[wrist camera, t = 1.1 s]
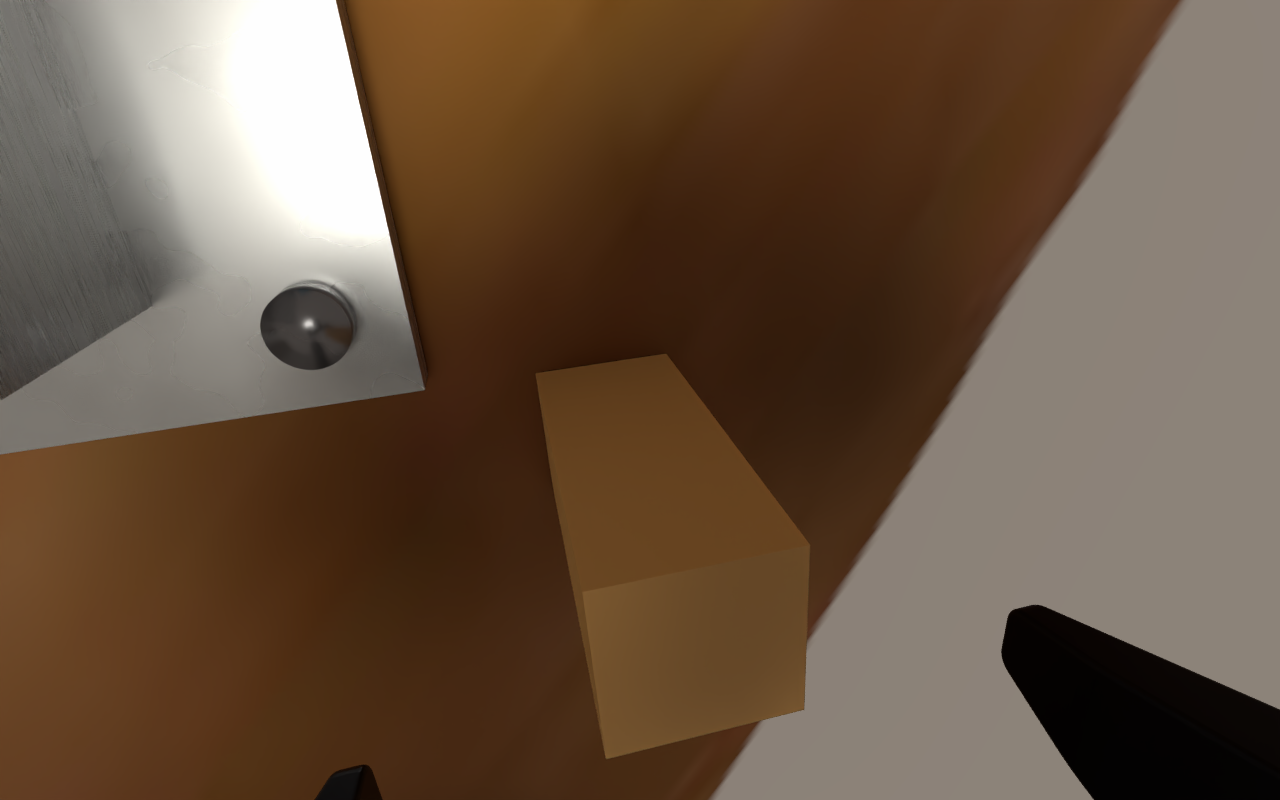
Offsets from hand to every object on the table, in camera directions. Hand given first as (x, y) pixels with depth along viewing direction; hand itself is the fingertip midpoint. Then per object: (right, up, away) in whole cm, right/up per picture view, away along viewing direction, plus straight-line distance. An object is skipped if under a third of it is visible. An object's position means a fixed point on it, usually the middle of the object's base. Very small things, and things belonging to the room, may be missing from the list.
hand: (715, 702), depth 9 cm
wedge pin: (-2, +4, +8) cm, 9 cm away
